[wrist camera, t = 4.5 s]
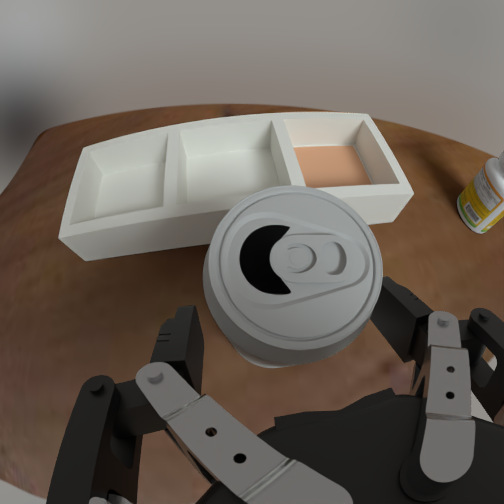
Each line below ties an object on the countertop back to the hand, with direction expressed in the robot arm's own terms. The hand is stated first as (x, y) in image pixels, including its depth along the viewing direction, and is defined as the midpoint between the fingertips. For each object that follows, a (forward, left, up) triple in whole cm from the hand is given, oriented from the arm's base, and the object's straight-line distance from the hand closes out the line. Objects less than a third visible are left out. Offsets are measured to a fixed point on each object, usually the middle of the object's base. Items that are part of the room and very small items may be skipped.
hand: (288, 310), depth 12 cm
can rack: (-2, +13, -8) cm, 15 cm away
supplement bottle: (+25, +8, -8) cm, 27 cm away
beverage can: (0, +1, -8) cm, 8 cm away
